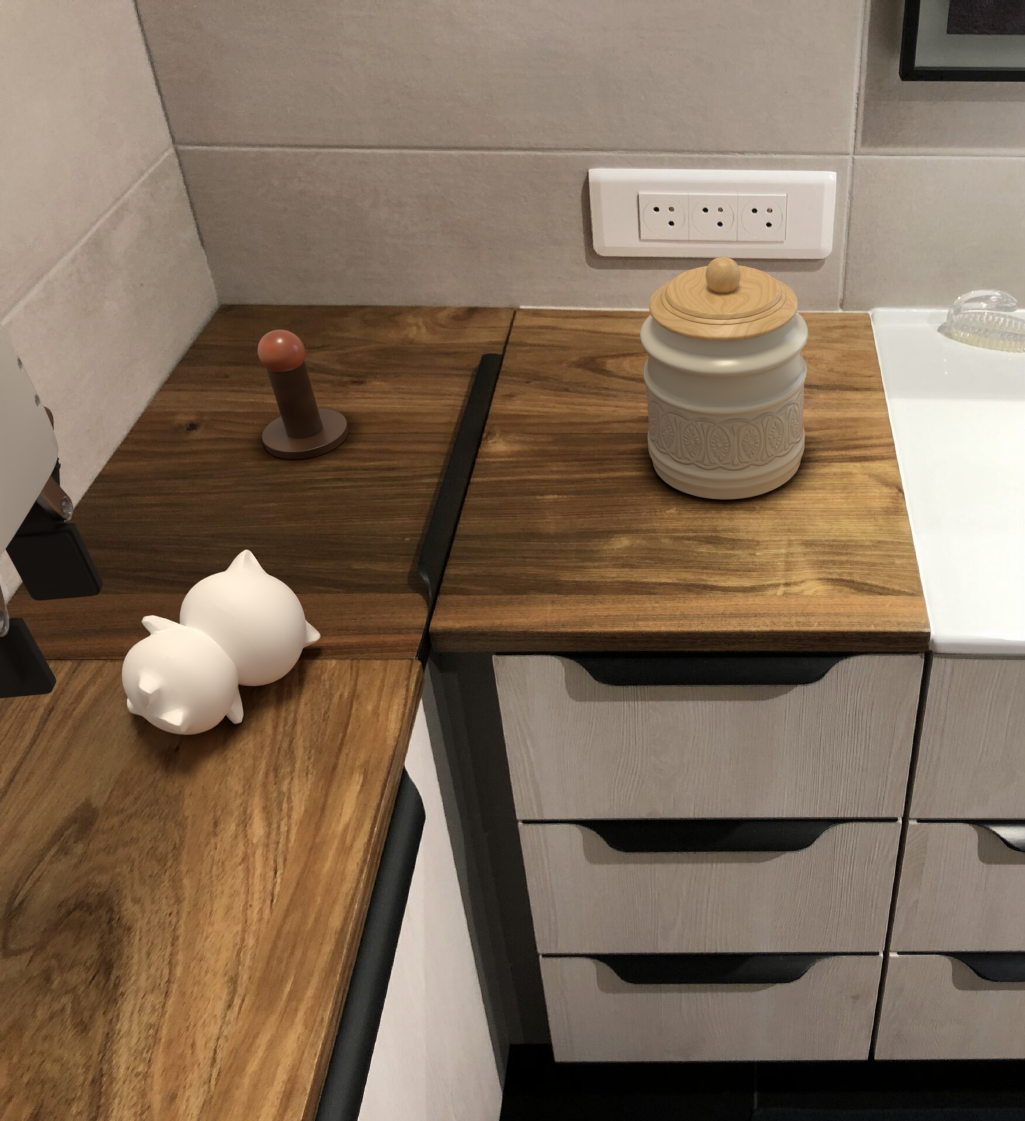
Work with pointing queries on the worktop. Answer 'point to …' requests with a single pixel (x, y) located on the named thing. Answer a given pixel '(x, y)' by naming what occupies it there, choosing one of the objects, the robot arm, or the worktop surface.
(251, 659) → the cat figurine
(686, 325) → the jar
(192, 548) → the worktop surface
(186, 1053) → the worktop surface
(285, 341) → the marker post
